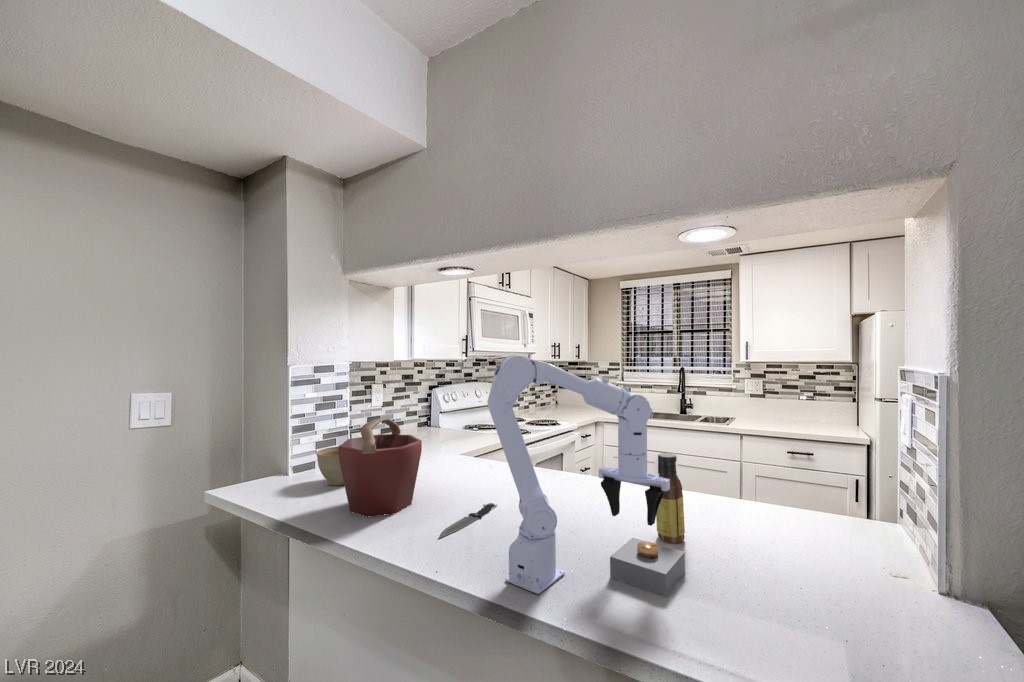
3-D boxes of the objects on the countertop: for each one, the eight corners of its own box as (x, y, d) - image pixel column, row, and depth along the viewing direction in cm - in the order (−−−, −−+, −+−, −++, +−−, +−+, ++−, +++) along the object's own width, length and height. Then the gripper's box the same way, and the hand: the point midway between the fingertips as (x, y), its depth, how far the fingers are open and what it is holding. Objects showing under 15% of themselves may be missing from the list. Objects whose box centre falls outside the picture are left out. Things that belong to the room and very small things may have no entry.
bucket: (384, 527, 111) (384, 428, 112) (316, 516, 119) (316, 424, 119) (434, 496, 134) (433, 414, 135) (374, 489, 142) (374, 411, 142)
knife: (427, 538, 105) (443, 542, 103) (427, 534, 105) (443, 538, 103) (487, 504, 128) (501, 507, 125) (487, 501, 128) (501, 504, 125)
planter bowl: (375, 481, 150) (375, 449, 150) (329, 492, 138) (329, 458, 139) (353, 472, 161) (353, 442, 161) (308, 482, 150) (308, 450, 150)
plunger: (654, 581, 84) (653, 552, 84) (634, 574, 87) (634, 546, 87) (661, 572, 87) (661, 545, 87) (642, 566, 90) (641, 539, 90)
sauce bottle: (675, 532, 107) (674, 450, 107) (690, 543, 101) (689, 457, 101) (650, 534, 106) (649, 452, 106) (664, 545, 99) (662, 458, 100)
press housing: (666, 596, 79) (665, 574, 79) (610, 577, 86) (610, 556, 86) (685, 571, 88) (684, 551, 88) (632, 556, 95) (632, 537, 95)
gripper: (675, 453, 88) (675, 521, 87) (608, 443, 97) (609, 505, 97) (662, 460, 82) (662, 533, 82) (593, 449, 91) (593, 515, 91)
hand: (632, 519), depth 89 cm, fingers open, 7 cm apart
